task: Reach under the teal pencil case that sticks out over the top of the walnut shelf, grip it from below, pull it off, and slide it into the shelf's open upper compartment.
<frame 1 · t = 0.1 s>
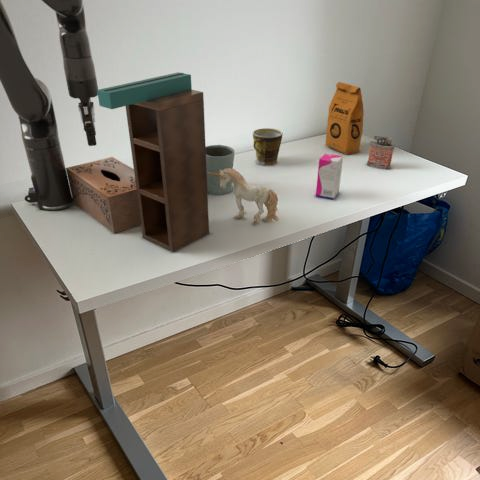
hand: (92, 140, 136), 17 cm above the table, tool pointing down, fingers open, 8 cm apart
pencil case: (148, 97, 104), point 34 cm above the table, touching shelf
supplement box: (327, 195, 149), on the table
grey flower pot: (218, 189, 152), on the table
shelf: (176, 235, 128), on the table
coffee package: (342, 150, 181), on the table
tissue box cover: (116, 210, 141), on the table
ceramic cup: (264, 164, 170), on the table
unicorn figurine: (242, 222, 134), on the table
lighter: (378, 166, 168), on the table
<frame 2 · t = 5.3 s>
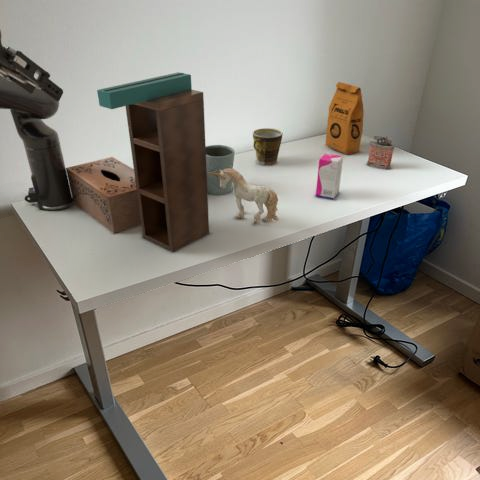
hand: (46, 92, 87), 39 cm above the table, tool tilted 45°, fingers open, 8 cm apart
nothing on the table moved.
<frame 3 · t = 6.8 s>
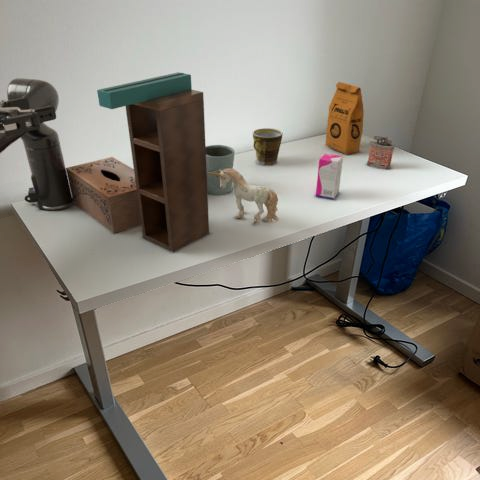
hand: (40, 107, 88), 37 cm above the table, tool horizontal, fingers open, 8 cm apart
nothing on the table moved.
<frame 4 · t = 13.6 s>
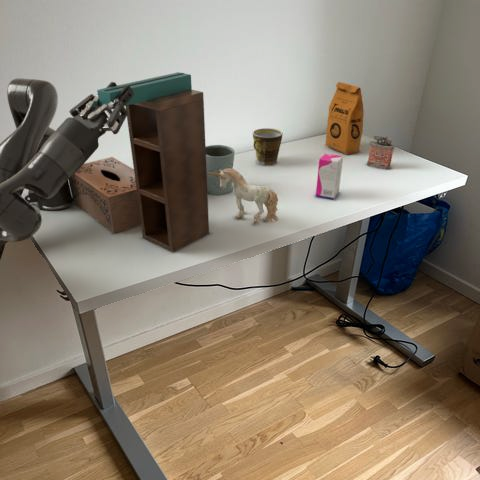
hand: (123, 87, 99), 37 cm above the table, tool pointing upward, fingers closed on pencil case, 4 cm apart
pencil case: (148, 97, 104), point 35 cm above the table, touching gripper, shelf
everything else where it was.
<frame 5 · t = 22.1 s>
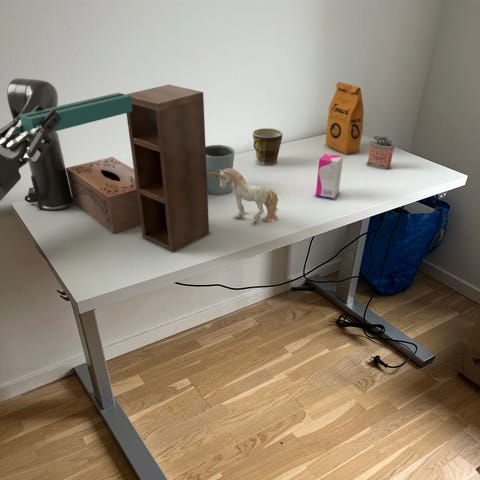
hand: (49, 112, 89), 36 cm above the table, tool pointing upward, fingers closed on pencil case, 4 cm apart
pencil case: (81, 121, 95), point 33 cm above the table, touching gripper
everything else where it was.
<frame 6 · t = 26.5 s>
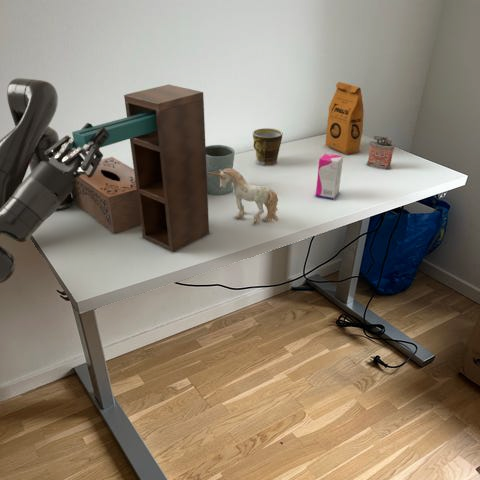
hand: (98, 129, 98), 31 cm above the table, tool pointing upward, fingers closed on pencil case, 4 cm apart
pencil case: (124, 136, 104), point 28 cm above the table, touching gripper
everything else where it was.
when the fingers open (29 cm above the table, at t = 30.5 s): pencil case stays where it is, resting on shelf.
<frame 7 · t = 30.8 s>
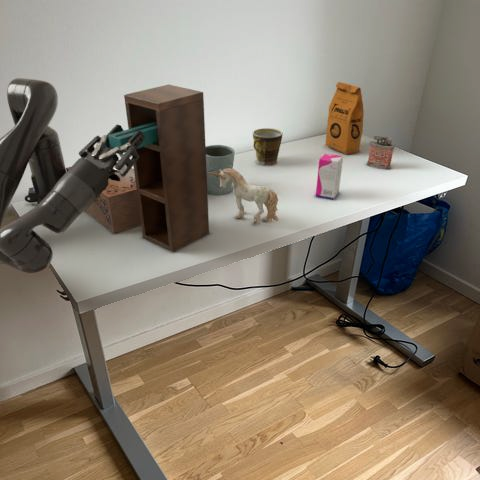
hand: (131, 131, 104), 29 cm above the table, tool pointing upward, fingers open, 6 cm apart
pencil case: (155, 138, 110), point 26 cm above the table, touching shelf
everything else where it was.
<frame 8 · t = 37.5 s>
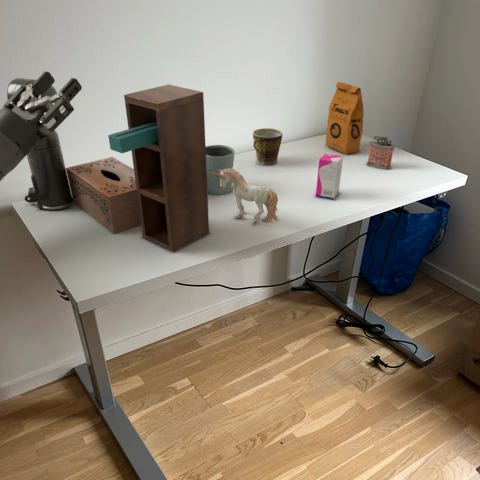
hand: (64, 78, 89), 41 cm above the table, tool pointing upward, fingers open, 8 cm apart
nothing on the table moved.
at the end: pencil case inside the target area on the shelf (0.0 cm from its centre), point 25.6 cm above the shelf's base; the gripper is holding nothing; pencil case tilted 0° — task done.
